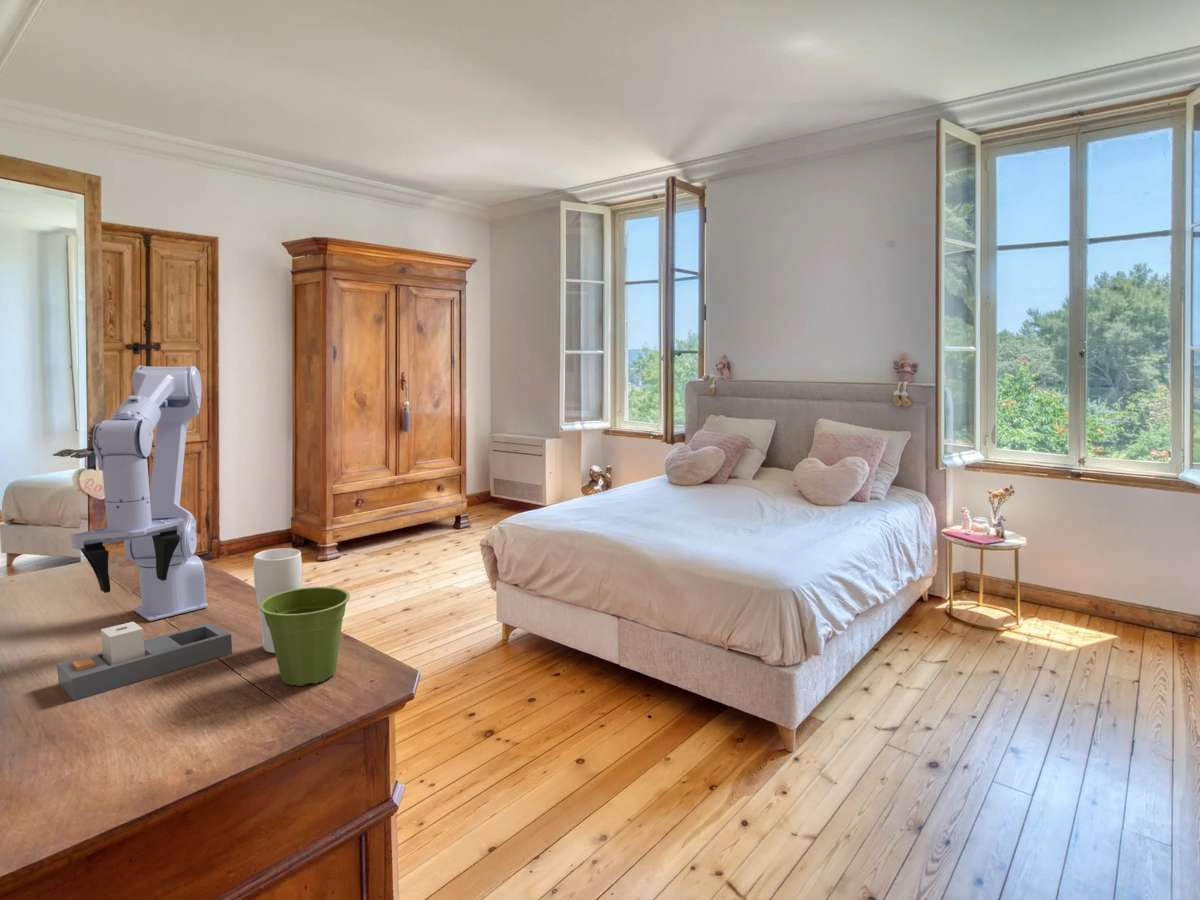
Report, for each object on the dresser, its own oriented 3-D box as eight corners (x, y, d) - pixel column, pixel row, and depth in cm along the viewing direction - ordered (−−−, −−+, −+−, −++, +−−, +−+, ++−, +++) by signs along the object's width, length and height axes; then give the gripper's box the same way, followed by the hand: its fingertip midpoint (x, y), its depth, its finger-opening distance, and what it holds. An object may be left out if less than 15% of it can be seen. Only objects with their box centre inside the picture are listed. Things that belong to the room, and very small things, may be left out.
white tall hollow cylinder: (258, 660, 106) (253, 562, 104) (257, 643, 112) (252, 550, 110) (307, 651, 109) (303, 556, 107) (303, 636, 115) (299, 545, 113)
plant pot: (363, 657, 108) (360, 585, 106) (336, 695, 96) (333, 615, 94) (283, 657, 107) (280, 585, 106) (247, 695, 96) (242, 614, 94)
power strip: (212, 640, 113) (211, 619, 112) (232, 653, 108) (230, 631, 108) (58, 684, 98) (56, 659, 97) (73, 700, 93) (71, 675, 93)
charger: (136, 661, 104) (133, 620, 103) (146, 669, 101) (142, 627, 100) (104, 670, 101) (100, 628, 100) (113, 678, 98) (109, 636, 97)
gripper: (78, 510, 100) (86, 603, 102) (189, 495, 111) (195, 579, 113) (64, 502, 105) (72, 591, 107) (172, 489, 116) (178, 570, 118)
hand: (134, 584), depth 110 cm, fingers open, 7 cm apart
